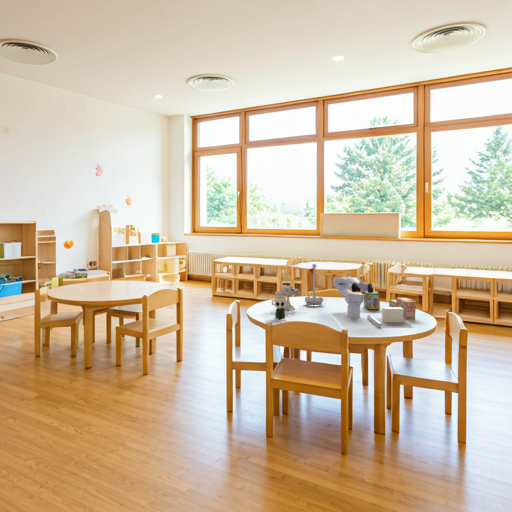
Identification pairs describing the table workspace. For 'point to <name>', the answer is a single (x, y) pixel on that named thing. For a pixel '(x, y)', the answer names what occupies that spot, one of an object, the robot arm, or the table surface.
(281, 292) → the tree
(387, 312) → the cream carton
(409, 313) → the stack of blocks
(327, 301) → the table surface
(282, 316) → the character mug
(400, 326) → the shelf deck
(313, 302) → the flag stand
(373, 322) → the price rail
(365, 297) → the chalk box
